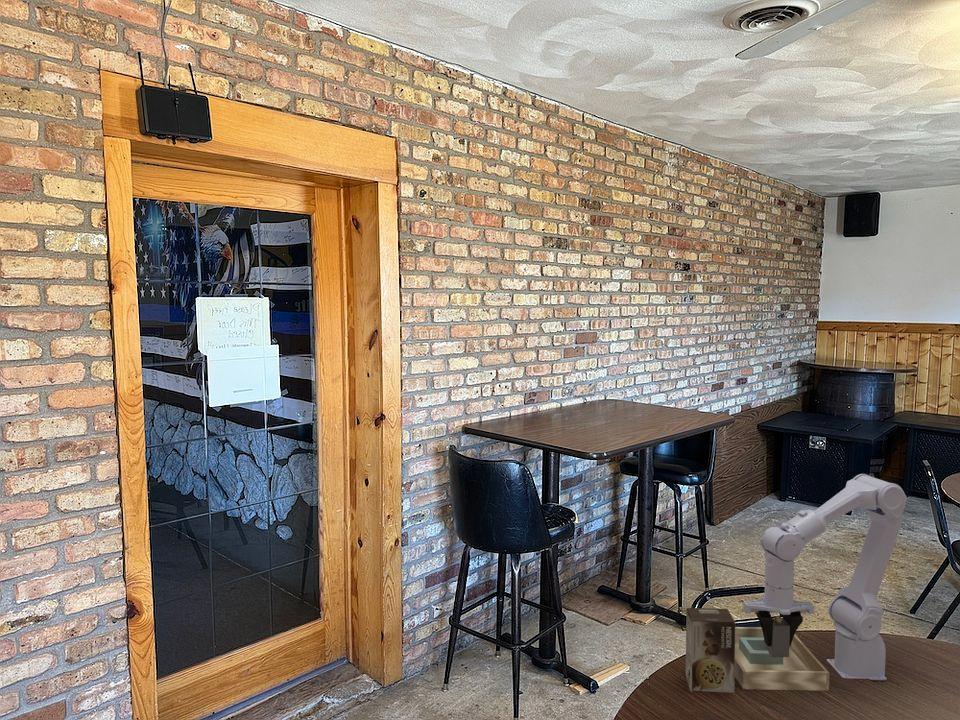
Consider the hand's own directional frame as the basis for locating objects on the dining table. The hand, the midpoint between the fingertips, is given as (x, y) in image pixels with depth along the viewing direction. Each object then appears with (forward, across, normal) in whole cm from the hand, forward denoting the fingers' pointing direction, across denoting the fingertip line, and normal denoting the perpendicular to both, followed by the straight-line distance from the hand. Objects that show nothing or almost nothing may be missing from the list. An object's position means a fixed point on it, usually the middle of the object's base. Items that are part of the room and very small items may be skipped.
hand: (777, 644), depth 146 cm
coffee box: (+8, -16, -3) cm, 18 cm away
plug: (+2, 0, 0) cm, 2 cm away
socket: (+8, 0, +9) cm, 12 cm away
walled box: (+8, 0, +5) cm, 10 cm away
